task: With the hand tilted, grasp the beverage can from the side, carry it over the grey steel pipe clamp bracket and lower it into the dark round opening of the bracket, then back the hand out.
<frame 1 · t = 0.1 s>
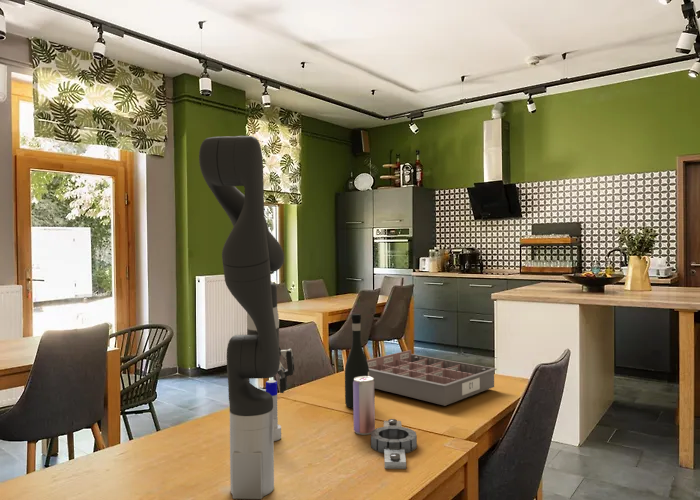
hand: (264, 392, 126), 17 cm above the table, fingers open, 8 cm apart
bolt: (272, 439, 142), on the table
beverage can: (364, 432, 147), on the table
organizer tray: (425, 390, 191), on the table
pipe clamp bracket: (393, 445, 137), on the table
wine bottle: (357, 406, 171), on the table
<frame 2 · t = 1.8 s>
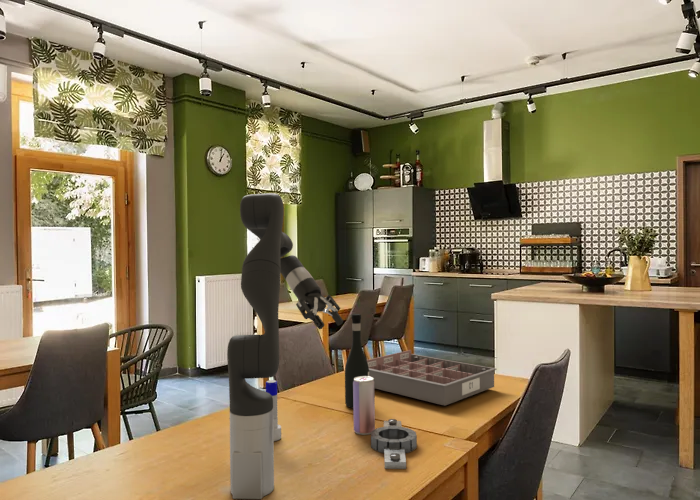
hand: (331, 325, 154), 29 cm above the table, fingers open, 8 cm apart
nothing on the table moved.
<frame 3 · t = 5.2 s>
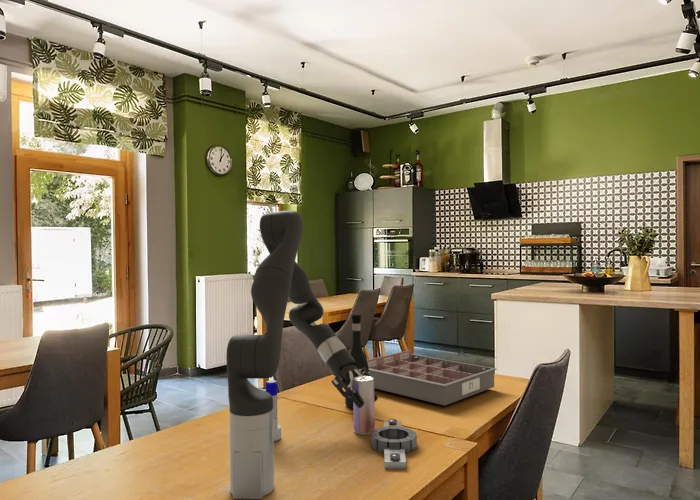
hand: (368, 403, 146), 8 cm above the table, fingers closed on beverage can, 6 cm apart
beverage can: (364, 432, 147), on the table, touching gripper
everything else where it was.
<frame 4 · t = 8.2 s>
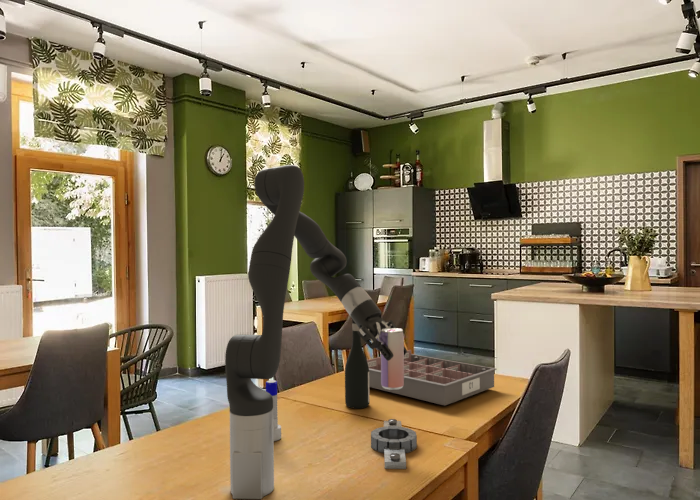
hand: (397, 356, 135), 24 cm above the table, fingers closed on beverage can, 6 cm apart
beverage can: (392, 387, 137), point 15 cm above the table, touching gripper
everything else where it was.
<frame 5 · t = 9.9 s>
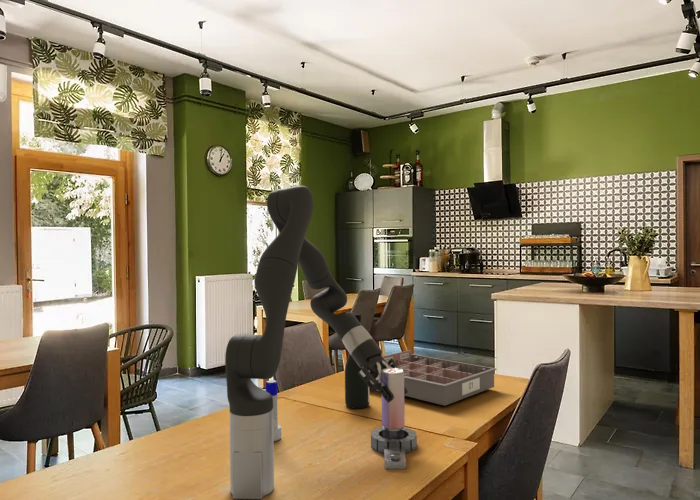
hand: (398, 397, 136), 13 cm above the table, fingers closed on beverage can, 6 cm apart
beverage can: (393, 428, 137), point 4 cm above the table, touching gripper
everything else where it was.
when the fingers open (10 cm above the table, at t = 11.2 s): beverage can drops 1 cm, resting in pipe clamp bracket.
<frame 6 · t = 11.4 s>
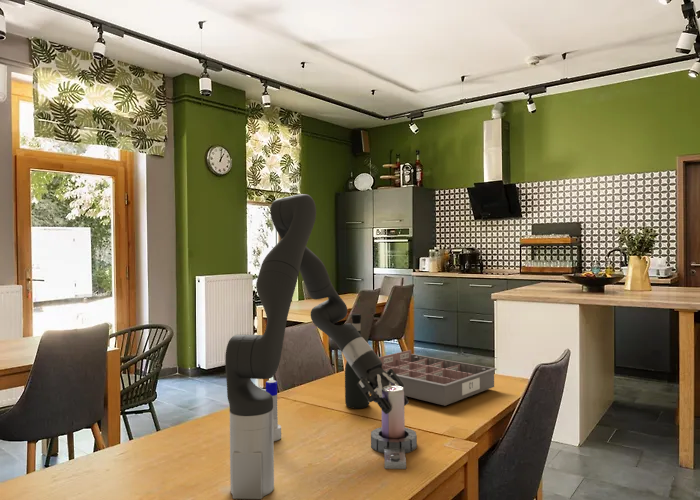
hand: (397, 407, 136), 10 cm above the table, fingers open, 7 cm apart
beverage can: (393, 446, 137), resting in pipe clamp bracket
everything else where it was.
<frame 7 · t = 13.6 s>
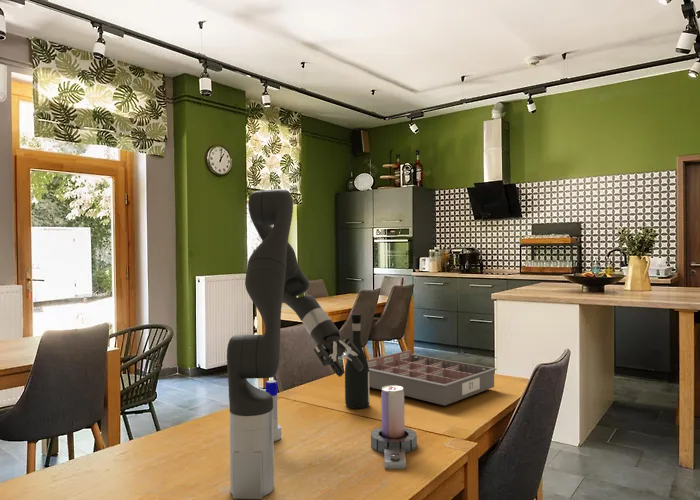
hand: (351, 372, 144), 17 cm above the table, fingers open, 8 cm apart
nothing on the table moved.
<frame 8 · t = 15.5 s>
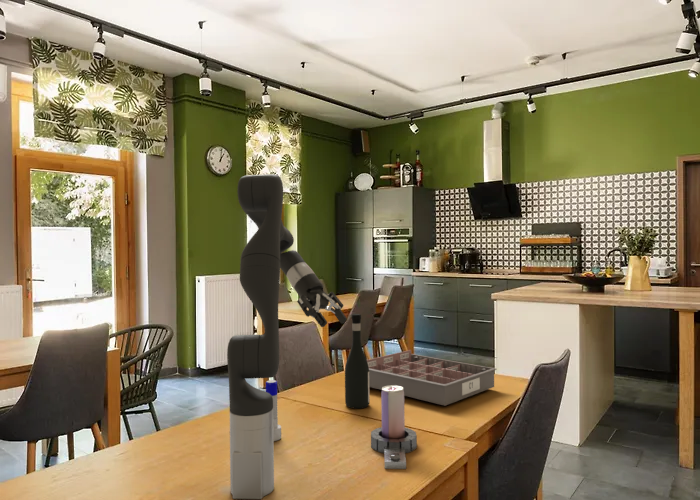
hand: (334, 323, 147), 31 cm above the table, fingers open, 8 cm apart
nothing on the table moved.
at the end: beverage can 0.1 cm off-centre on the pipe clamp bracket, point 0.0 cm above the pipe clamp bracket's base; beverage can tilted 0°; the gripper is holding nothing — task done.
